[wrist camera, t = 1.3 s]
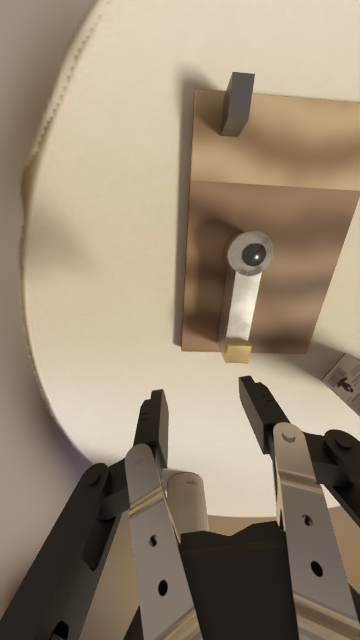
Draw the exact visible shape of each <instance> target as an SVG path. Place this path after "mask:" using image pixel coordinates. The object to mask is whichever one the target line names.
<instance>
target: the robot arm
mask: <svg viewBox="0 0 360 640" xmlns="http://www.w3.org/2000/svg"><path fill="white" fill-rule="evenodd" d="M239 394H240V400H241V403H242V406H243V408H244V410H245V413H246V415H247V417H248V420H249V422H250V424H251V427H252V429H253V431H254V434H255V436H256V438H257V441H258V443H259V445H260V448H261V450H262V452H263V455H265V454H270V457H271V459H272V467H273V479H274V490H275V501H276V518H277V521H271V522H264V523H256V524H252V525H250V526H248V527H246V528H245V529H243V530H241V531H239V532H238V533H236V534H234V535H232V536H225V535H221V534H216V533H212V532H208V531H204V530H203V531H196V532H188V533H181V534H180V537H181V542H180V541H179V537H178V534H177V531H176V528H175V524H174V521H173V518H172V514H171V511H170V507H169V504H168V501H167V497H166V494H165V490H164V487H163V483H162V469H165V468H167V458H168V419H169V413H168V405H167V402H166V398H165V394H164V390H163V389H160V390H154V391H152V393H151V399H149V400H145V401H144V403H143V404H142V406H141V408H140V413H139V419H138V424H137V429H136V434H135V439H134V444H133V447H132V448H131V449H130V450H129V451H128V453H127V455H126V457H125V458H124V459H123V460H121V461H119V462H117V463H115V464H113V465H111V466H109V467H107V466H106V465H105V464H103V463H97V464H95V465H93V466H91V467H90V468H89V469H87V470H86V472H85V473H84V474H83V475H82V477H81V479H80V481H79V482H78V484H77V486H76V488H75V489H74V491H73V493H72V495H71V496H70V498H69V500H68V502H67V504H66V505H65V507H64V509H63V511H62V512H61V514H60V516H59V518H58V519H57V521H56V523H55V525H54V526H53V528H52V530H51V532H50V534H49V535H48V537H47V539H46V541H45V543H44V544H43V546H42V548H41V550H40V551H39V553H38V555H37V557H36V558H35V560H34V562H33V564H32V566H31V567H30V569H29V571H28V573H27V574H26V576H25V578H24V579H23V581H22V583H21V585H20V587H19V588H18V590H17V592H16V594H15V595H14V597H13V599H12V601H11V603H10V604H9V606H8V608H7V610H6V611H5V613H4V615H3V617H2V618H1V620H0V640H79V637H80V634H81V631H82V628H83V625H84V622H85V620H86V617H87V614H88V611H89V608H90V605H91V602H92V599H93V596H94V594H95V591H96V588H97V585H98V582H99V579H100V576H101V573H102V570H103V567H104V565H105V562H106V559H107V556H108V553H109V550H110V547H111V544H112V541H113V539H114V535H115V533H116V530H117V527H118V524H119V521H120V518H121V516H122V513H123V512H124V511H126V510H128V509H129V508H130V510H129V522H130V530H131V538H132V546H133V554H134V563H135V571H136V578H137V587H138V595H139V603H140V605H139V607H138V609H137V611H136V614H135V616H134V618H133V620H132V622H131V624H130V626H129V628H128V630H127V633H126V635H125V637H124V639H123V640H360V594H359V593H358V592H357V591H356V590H355V589H354V588H353V587H352V586H351V585H350V584H349V583H348V581H347V577H346V573H345V570H344V566H343V562H342V559H341V555H340V552H339V548H338V544H337V541H336V537H335V533H334V530H333V526H332V522H331V519H330V515H329V512H328V508H327V504H326V500H325V497H324V493H323V490H322V487H321V485H320V484H324V486H325V487H326V488H327V489H328V490H329V492H330V493H331V494H332V495H333V496H334V498H335V499H336V500H337V501H338V502H339V504H340V505H341V506H342V507H343V508H344V510H345V511H346V512H347V513H348V514H349V516H350V517H351V518H352V519H353V520H354V521H355V523H356V524H357V525H358V526H359V527H360V441H358V440H357V439H356V438H355V437H353V436H352V435H350V434H348V433H346V432H344V431H341V430H334V429H333V430H329V431H327V432H326V433H325V436H321V435H315V434H309V433H305V432H303V431H301V430H300V429H299V428H298V427H296V426H295V425H293V424H291V423H290V421H289V420H288V418H287V417H286V415H285V414H284V412H283V411H282V409H281V408H280V406H279V405H278V403H277V402H276V401H275V399H274V397H273V395H272V394H271V392H270V391H269V389H268V388H267V387H266V386H265V385H263V384H262V383H261V382H259V383H255V382H254V381H253V379H252V377H251V376H244V377H239Z"/></svg>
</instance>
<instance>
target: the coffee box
mask: <svg viewBox="0 0 360 640" xmlns="http://www.w3.org/2000/svg"><path fill="white" fill-rule="evenodd" d="M322 382H323V383H325V384H326V385H327V386H328V387H329V388H330V389H331V390H332V391H333V392H334V393H335V394H336V395H337V396H339V397H340V398H341V399H342V400H343V401H344V402H345V403H346V404H347V405H348V406H349V407H350V408H351V409H352V410H354V411H355V412H356V413H357V414H358V415H359V416H360V360H359V359H357V358H355V357H353V356H351V355H349V354H345V355H344V356H343V357H342V358H341V359H340V360H339V362H338V363H337V364H336V365H335V366H334V367H333V368H332V370H331V371H330V372H329V373H328V374H327V375H326V376H325V377H324V379H323V380H322Z"/></svg>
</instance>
